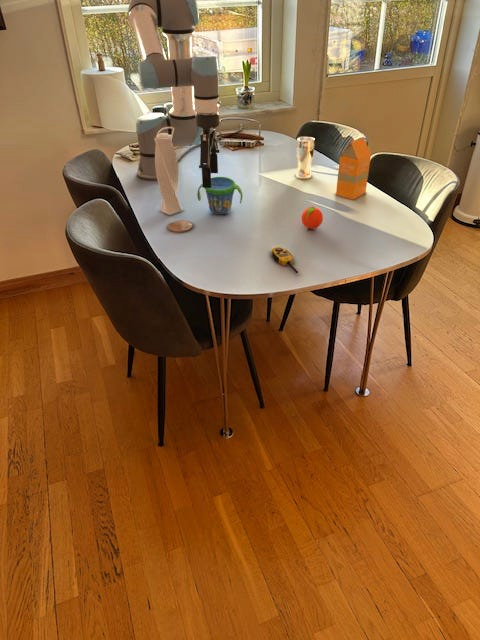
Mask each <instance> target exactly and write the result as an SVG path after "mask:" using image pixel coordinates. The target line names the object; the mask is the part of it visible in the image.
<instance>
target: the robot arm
mask: <svg viewBox="0 0 480 640" xmlns="http://www.w3.org/2000/svg"><path fill="white" fill-rule="evenodd" d="M127 21H128V24H129V27H130V29H131V30H132V31H133V32H134V36H135V40H136V43H137V47H138V50H139V54H140V58H141V61H139V62H138V65H137V67H138V77H139V81H140V85H141V88H143V89H153V90H157V89H165V88H166V89H167V88H170V89H171V100H172V108H171V109H170V110H169V116H165V113H162V112H152V113H147V114H143V115H142V116H139V117H138V118H137V119H136V121H135V129H136V130H135V132H136V136H137V142H138V151H139V160H138V166H137V171H136V172H137V176H138V177H139V178H140V179H142V180H143V179H144V180H149V181H150V180H151V181H152V180H153V181H158V180H157V175H156V168H155V146H156V143H155V140H154V138H155V137H156V136H157V133H158V131H159V130H160V129H161V128H164V127H173V128H174V132H173V137H172V144H173V147H174V148H180V147H189V148H188V149H186V150H185V151H184V152H183V153H182V154H181V155H180V156H179V157H177V161H178V162H179V161H181V159H182V158H183V157H184V156H185V155H186V154H187V153H188V152H189V151H191V150H193V149H195V148H197V147H200V155H199V156H200V159H199V165H198V168H199V169H201V184H202V183H203V187H202V188H203V189H205V188H211V178H212V174H219V161H218V154H220V151H221V150H220V149H219V144H218V140H220V139H223V138H226V137H228V136H225V137H221V136H217V128H218V127H219V126H220V125H221V115H220V114H221V113H219V112H220V105H221V104H222V101H221V100H219V99H220V90H219V89H220V88H219V86H220V84H219V70H220V67H219V61H218V57H217V56H216V55H215V54H209V53H203V54H202V53H201V54H195V55H193V53H192V37H193V36H194V34H195V33H196V30H195V28H196V27H198V26H199V24H200V14H199V8H198V3H197V0H131V1H130V2H129V4H128V7H127ZM158 28H161V31H162V34H163V36H164V37H166V39H167V51H168V52H167V53H168V59H167V55H166V53H165V49H164V46H163V42H162V39H161V36H160V33H159V30H158ZM239 126H240V128H239V129H238V130H235V131H234V132H237V133H239V132H241V131H243V125H242V123H240V124H239ZM172 130H173V129H172V128H167V129H163V130H161V131H160V132H159V134H160V133H168V135H171V134H172ZM159 134H158V135H159ZM218 137H219V138H218Z"/></svg>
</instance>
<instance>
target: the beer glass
mask: <svg viewBox="0 0 480 640" xmlns="http://www.w3.org/2000/svg"><path fill="white" fill-rule="evenodd" d="M295 153H296V163H297V170H296V174H295V177H296V178H298V179H299V180H301V179H302V180H307V179H310V178H312V173H311V168H312V163H313V159H314V154H315V138H314V137H312V136H299V137H298V138H297V142H296V152H295Z"/></svg>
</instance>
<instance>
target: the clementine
mask: <svg viewBox="0 0 480 640" xmlns="http://www.w3.org/2000/svg"><path fill="white" fill-rule="evenodd" d="M300 218H301V219H300V220H301V223H302V225H303V226H304V227H305V228H307V229H311V230H314V229H317V228H319V227H320V226H321V225H322V223H323V221H324V215H323V212H322V211H321V209H319V208H318V207H316V206H309V207H307V208H306V209H304V210H303V211H302V214H301V217H300Z"/></svg>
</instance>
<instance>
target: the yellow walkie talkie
mask: <svg viewBox="0 0 480 640" xmlns="http://www.w3.org/2000/svg"><path fill="white" fill-rule="evenodd" d="M271 255H272V258H273V259H274V260H275V262H277V263H279V264H280V265H282V266H289V267H290V268H291V269H292V270H293V272H295V273H296V274H298V273H299V271H298V270H297V269H296V268H295V267H294V266H293V262H294V261H293V260H294V259H293V255H292V253H291V252H290V251H288V250H287V249H286V248H283V247H281V246H275V247H272V248H271Z"/></svg>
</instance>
